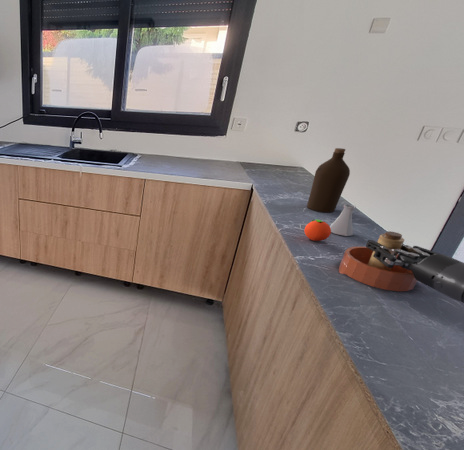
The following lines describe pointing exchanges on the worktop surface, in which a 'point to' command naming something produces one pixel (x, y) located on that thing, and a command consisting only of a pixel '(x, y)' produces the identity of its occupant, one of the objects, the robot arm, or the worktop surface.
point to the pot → (375, 271)
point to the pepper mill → (388, 240)
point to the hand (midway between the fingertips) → (377, 242)
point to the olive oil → (329, 183)
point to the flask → (344, 222)
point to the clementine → (317, 230)
